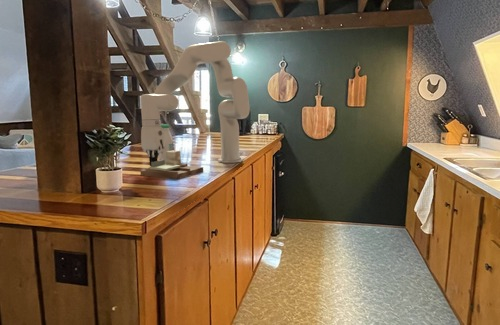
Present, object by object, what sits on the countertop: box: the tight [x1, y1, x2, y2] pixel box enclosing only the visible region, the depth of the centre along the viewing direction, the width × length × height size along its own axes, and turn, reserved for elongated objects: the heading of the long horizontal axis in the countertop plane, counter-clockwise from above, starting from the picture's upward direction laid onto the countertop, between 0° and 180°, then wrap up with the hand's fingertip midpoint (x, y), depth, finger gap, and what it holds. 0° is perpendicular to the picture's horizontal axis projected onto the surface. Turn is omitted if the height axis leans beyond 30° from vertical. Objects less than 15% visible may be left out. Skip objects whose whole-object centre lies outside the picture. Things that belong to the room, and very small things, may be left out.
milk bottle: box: [157, 124, 175, 164], centre depth 177 cm, size 8×8×20 cm
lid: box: [149, 159, 180, 171], centre depth 153 cm, size 9×9×3 cm
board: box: [139, 162, 204, 180], centre depth 157 cm, size 18×20×3 cm
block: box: [166, 149, 182, 165], centre depth 162 cm, size 4×4×7 cm
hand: (153, 165), depth 156 cm, fingers closed
